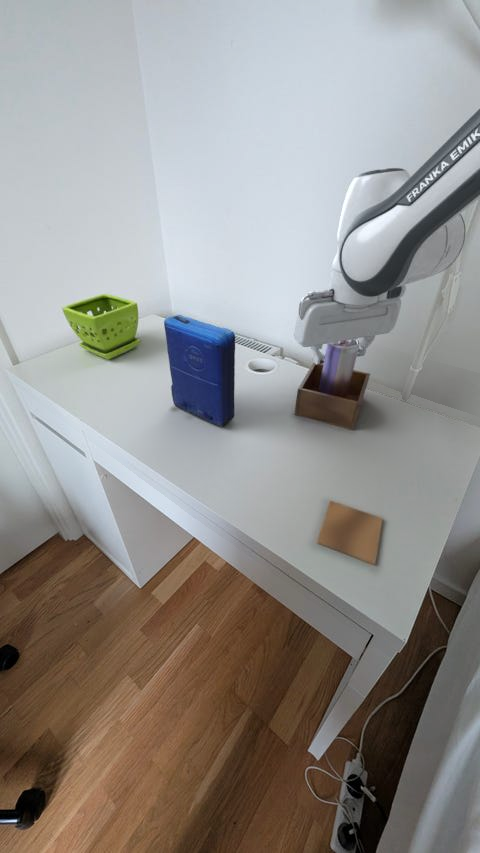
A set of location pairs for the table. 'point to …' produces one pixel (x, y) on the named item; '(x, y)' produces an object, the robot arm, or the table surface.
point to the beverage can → (338, 367)
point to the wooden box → (330, 399)
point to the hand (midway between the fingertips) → (338, 358)
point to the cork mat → (351, 532)
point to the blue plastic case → (201, 368)
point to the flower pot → (104, 324)
